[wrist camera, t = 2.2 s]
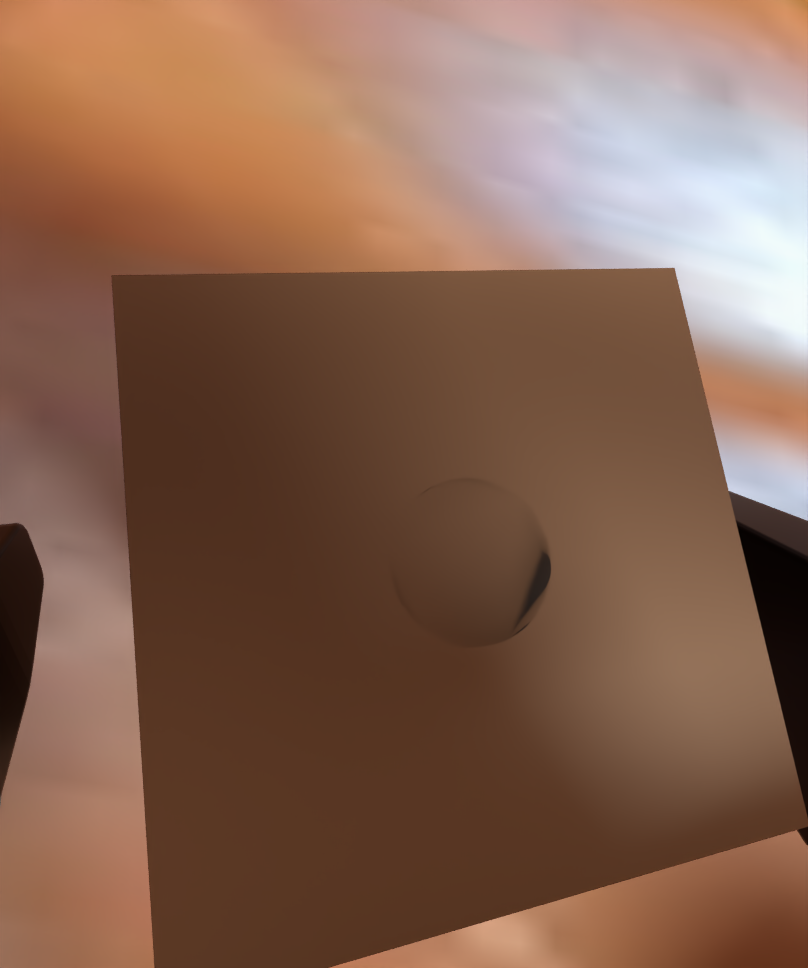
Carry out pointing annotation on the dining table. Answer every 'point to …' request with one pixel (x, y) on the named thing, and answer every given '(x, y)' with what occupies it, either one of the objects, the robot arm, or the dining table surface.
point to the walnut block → (429, 604)
